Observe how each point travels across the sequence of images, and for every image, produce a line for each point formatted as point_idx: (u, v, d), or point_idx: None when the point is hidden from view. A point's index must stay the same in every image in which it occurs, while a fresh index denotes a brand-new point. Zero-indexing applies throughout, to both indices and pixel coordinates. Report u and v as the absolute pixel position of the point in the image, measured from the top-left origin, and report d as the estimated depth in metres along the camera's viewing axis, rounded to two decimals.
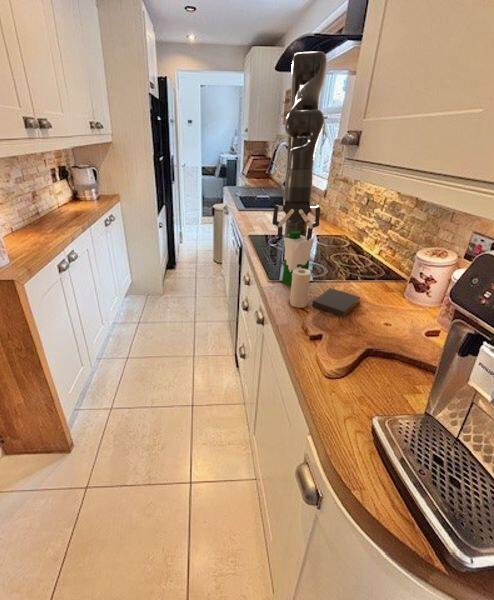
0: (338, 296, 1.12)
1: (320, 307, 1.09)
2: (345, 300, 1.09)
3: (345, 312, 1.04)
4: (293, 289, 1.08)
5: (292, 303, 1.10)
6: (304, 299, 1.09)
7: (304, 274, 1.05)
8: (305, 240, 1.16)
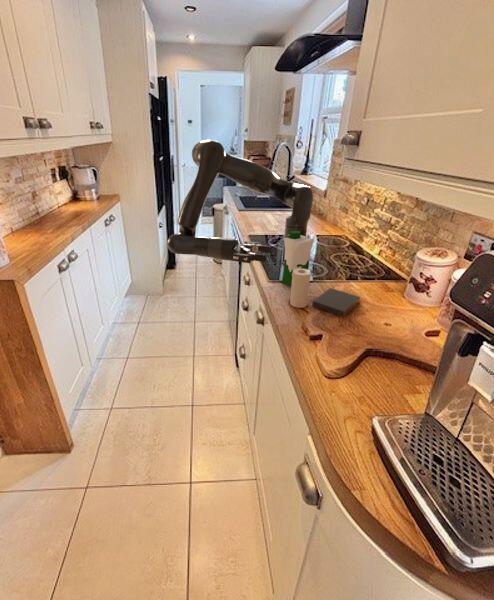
0: (338, 296, 1.12)
1: (320, 307, 1.09)
2: (345, 300, 1.09)
3: (345, 312, 1.04)
4: (293, 289, 1.08)
5: (292, 303, 1.10)
6: (304, 299, 1.09)
7: (304, 274, 1.05)
8: (305, 240, 1.16)
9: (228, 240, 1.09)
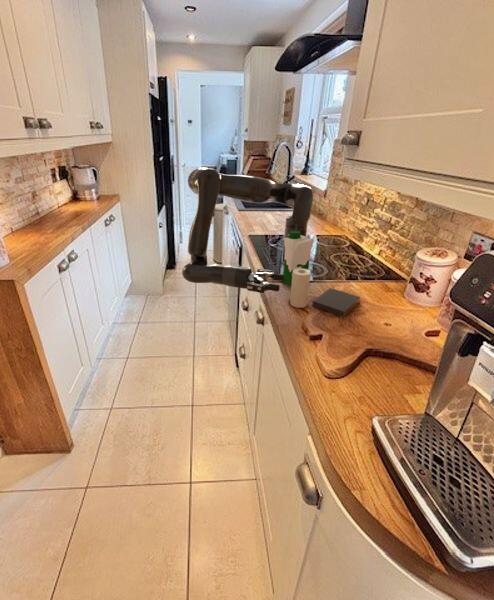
0: (338, 296, 1.12)
1: (320, 307, 1.09)
2: (345, 300, 1.09)
3: (345, 312, 1.04)
4: (293, 289, 1.08)
5: (292, 303, 1.10)
6: (304, 299, 1.09)
7: (304, 274, 1.05)
8: (305, 240, 1.16)
9: (242, 269, 1.12)
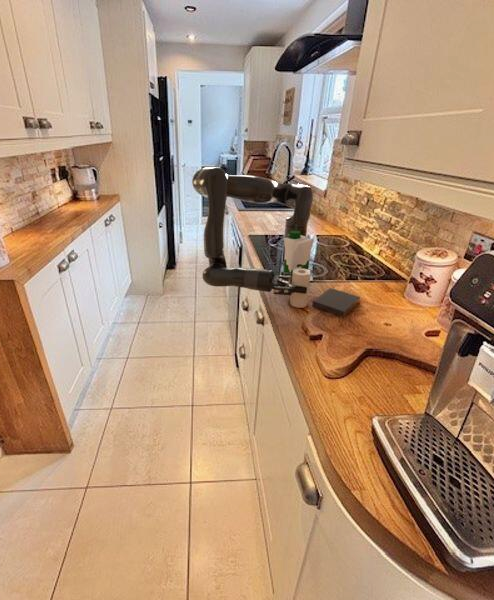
0: (338, 296, 1.12)
1: (320, 307, 1.09)
2: (345, 300, 1.09)
3: (345, 312, 1.04)
4: None
5: (292, 303, 1.10)
6: (304, 299, 1.09)
7: (304, 274, 1.05)
8: (305, 240, 1.16)
9: (265, 272, 1.10)
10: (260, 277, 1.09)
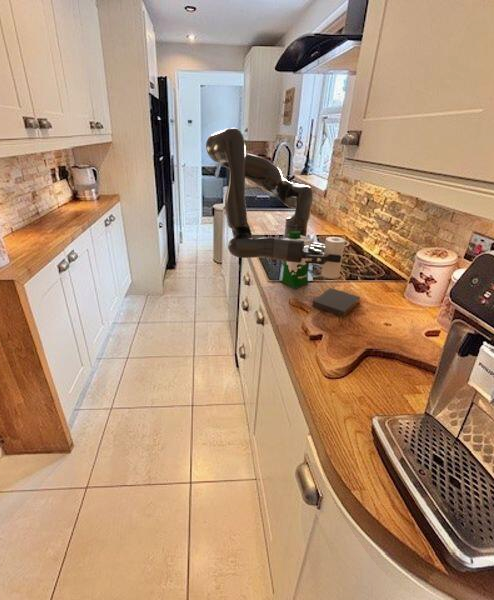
0: (338, 296, 1.12)
1: (320, 307, 1.09)
2: (345, 300, 1.09)
3: (345, 312, 1.04)
4: None
5: (324, 274, 1.05)
6: (337, 269, 1.03)
7: (339, 241, 0.99)
8: (305, 240, 1.16)
9: (295, 241, 1.04)
10: (290, 246, 1.04)
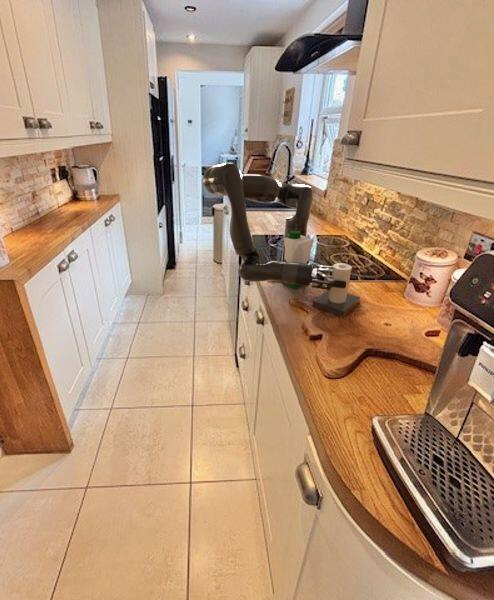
0: None
1: (320, 307, 1.09)
2: None
3: (345, 312, 1.04)
4: None
5: (331, 298, 1.09)
6: (344, 294, 1.07)
7: (345, 269, 1.03)
8: (305, 240, 1.16)
9: (304, 265, 1.08)
10: (299, 270, 1.08)
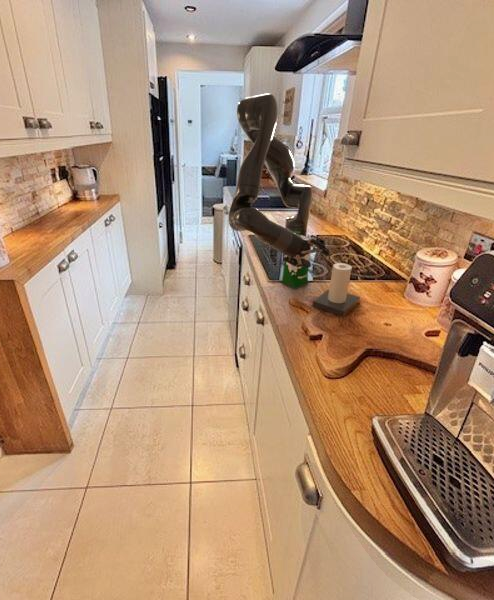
0: None
1: (320, 307, 1.09)
2: None
3: (345, 312, 1.04)
4: (333, 284, 1.06)
5: (331, 298, 1.09)
6: (344, 294, 1.07)
7: (345, 269, 1.03)
8: None
9: None
10: (293, 232, 1.05)
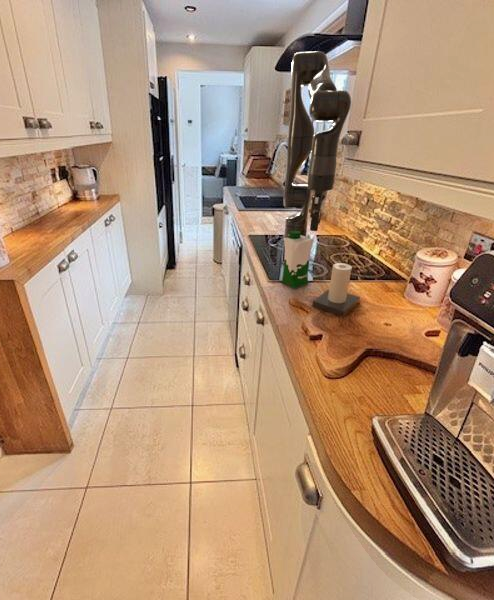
0: None
1: (320, 307, 1.09)
2: None
3: (345, 312, 1.04)
4: (333, 284, 1.06)
5: (331, 298, 1.09)
6: (344, 294, 1.07)
7: (345, 269, 1.03)
8: (305, 240, 1.16)
9: None
10: None
